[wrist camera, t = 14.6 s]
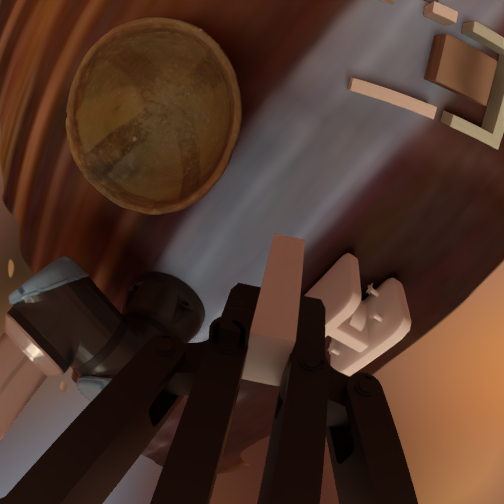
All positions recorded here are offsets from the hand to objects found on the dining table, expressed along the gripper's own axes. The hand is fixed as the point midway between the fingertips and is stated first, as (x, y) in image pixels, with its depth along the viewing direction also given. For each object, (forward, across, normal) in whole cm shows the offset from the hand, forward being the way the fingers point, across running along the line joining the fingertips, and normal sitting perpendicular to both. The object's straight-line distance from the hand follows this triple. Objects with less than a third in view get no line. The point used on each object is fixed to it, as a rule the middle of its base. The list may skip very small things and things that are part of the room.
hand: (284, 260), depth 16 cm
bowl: (+27, -17, +2) cm, 31 cm away
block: (+25, +17, +15) cm, 34 cm away
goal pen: (+25, +20, +15) cm, 35 cm away
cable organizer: (+26, +11, -21) cm, 35 cm away
